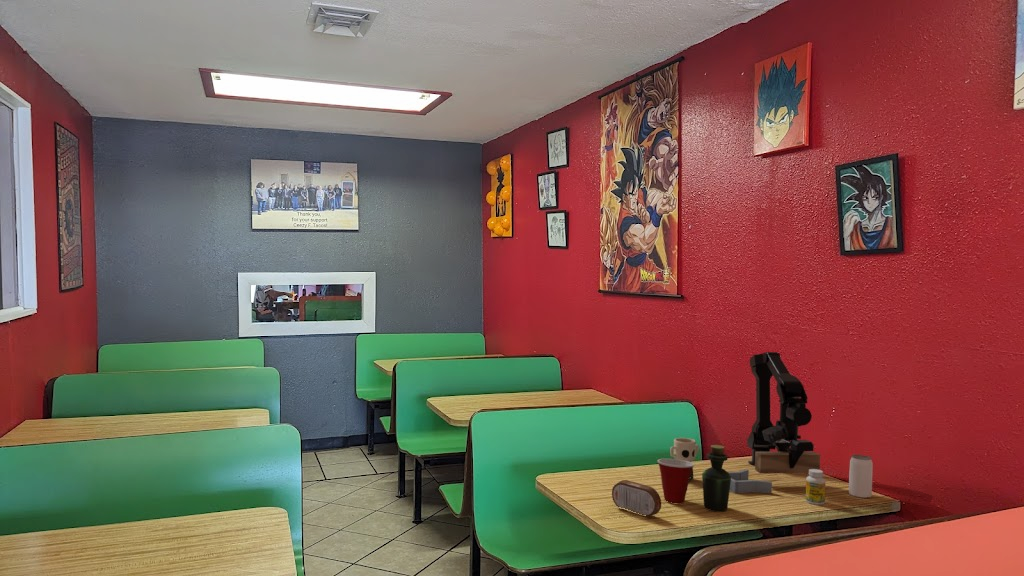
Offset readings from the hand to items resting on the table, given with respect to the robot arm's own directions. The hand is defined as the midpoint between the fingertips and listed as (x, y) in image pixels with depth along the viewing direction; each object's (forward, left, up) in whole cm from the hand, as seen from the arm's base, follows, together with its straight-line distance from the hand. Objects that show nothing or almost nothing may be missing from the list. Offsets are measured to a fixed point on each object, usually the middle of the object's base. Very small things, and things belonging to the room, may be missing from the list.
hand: (787, 466), depth 230 cm
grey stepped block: (0, -16, -6) cm, 17 cm away
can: (+13, +17, -6) cm, 22 cm away
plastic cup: (+9, -44, -6) cm, 45 cm away
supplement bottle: (+17, -2, -6) cm, 18 cm away
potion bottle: (+17, -35, -6) cm, 39 cm away
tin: (+17, -60, -6) cm, 63 cm away
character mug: (-11, -31, -6) cm, 33 cm away
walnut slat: (0, 0, -2) cm, 2 cm away
